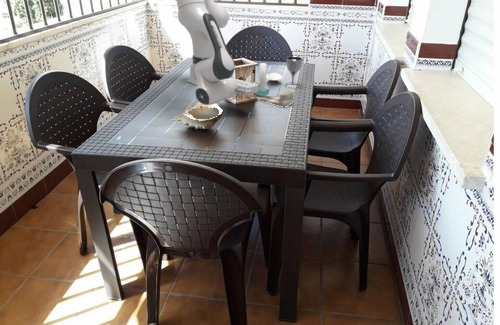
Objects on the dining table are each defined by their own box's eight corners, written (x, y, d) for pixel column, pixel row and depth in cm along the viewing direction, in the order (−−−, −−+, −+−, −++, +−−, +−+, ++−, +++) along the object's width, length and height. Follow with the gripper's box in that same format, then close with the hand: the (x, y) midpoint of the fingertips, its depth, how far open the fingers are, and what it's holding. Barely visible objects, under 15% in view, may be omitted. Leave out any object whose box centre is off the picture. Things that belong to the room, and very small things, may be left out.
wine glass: (285, 88, 212) (287, 59, 205) (284, 84, 219) (285, 56, 212) (300, 88, 212) (303, 60, 205) (298, 84, 219) (301, 56, 212)
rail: (246, 97, 197) (246, 85, 194) (255, 94, 202) (255, 82, 199) (284, 108, 185) (285, 95, 182) (292, 104, 190) (293, 92, 187)
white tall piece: (254, 93, 194) (255, 63, 188) (260, 91, 198) (262, 61, 191) (262, 96, 192) (264, 65, 185) (269, 93, 195) (270, 63, 188)
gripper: (246, 85, 166) (266, 79, 175) (210, 76, 177) (230, 70, 186) (246, 100, 169) (265, 93, 178) (210, 90, 179) (230, 83, 189)
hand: (247, 81), depth 182 cm, fingers open, 8 cm apart
